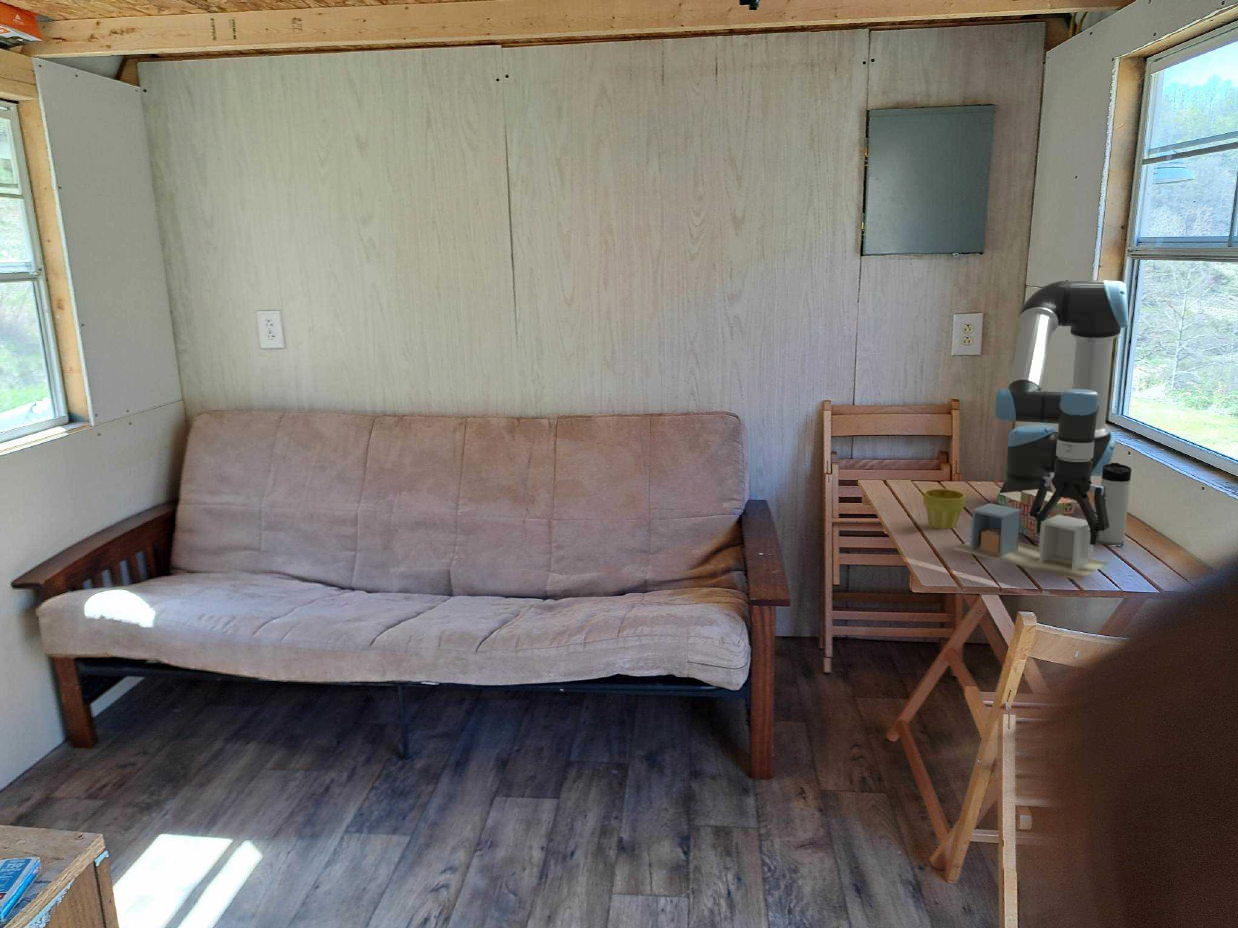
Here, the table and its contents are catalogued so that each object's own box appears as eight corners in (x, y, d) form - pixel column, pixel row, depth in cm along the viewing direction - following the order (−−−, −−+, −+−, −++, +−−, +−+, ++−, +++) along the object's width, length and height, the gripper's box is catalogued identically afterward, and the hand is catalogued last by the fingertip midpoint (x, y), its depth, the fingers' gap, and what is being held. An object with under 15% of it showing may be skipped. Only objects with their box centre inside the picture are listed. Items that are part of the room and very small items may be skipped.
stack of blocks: (995, 526, 237) (998, 481, 234) (1016, 524, 238) (1019, 480, 235) (1048, 550, 216) (1053, 502, 213) (1071, 548, 217) (1075, 500, 215)
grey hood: (1054, 554, 210) (1058, 514, 208) (1089, 562, 204) (1093, 521, 202) (1038, 562, 205) (1042, 521, 203) (1074, 571, 199) (1078, 529, 197)
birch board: (985, 538, 226) (985, 534, 226) (1108, 566, 204) (1108, 562, 204) (952, 552, 217) (952, 548, 216) (1077, 584, 194) (1078, 580, 194)
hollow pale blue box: (986, 541, 221) (989, 503, 219) (1017, 548, 215) (1020, 509, 213) (970, 548, 216) (972, 509, 214) (1001, 556, 210) (1004, 516, 208)
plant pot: (966, 535, 229) (968, 499, 227) (924, 533, 232) (926, 497, 229) (959, 523, 239) (961, 488, 237) (919, 522, 241) (921, 487, 239)
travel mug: (1120, 539, 222) (1128, 463, 218) (1125, 548, 216) (1134, 469, 212) (1092, 538, 224) (1100, 461, 220) (1097, 546, 218) (1105, 467, 214)
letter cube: (989, 544, 218) (991, 526, 217) (1007, 548, 215) (1008, 530, 214) (980, 548, 216) (981, 530, 215) (998, 553, 212) (999, 534, 211)
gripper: (1017, 453, 205) (1010, 544, 210) (1119, 469, 188) (1109, 567, 193) (1033, 448, 210) (1025, 537, 215) (1133, 463, 193) (1123, 559, 198)
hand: (1065, 552), depth 204 cm, fingers open, 9 cm apart
